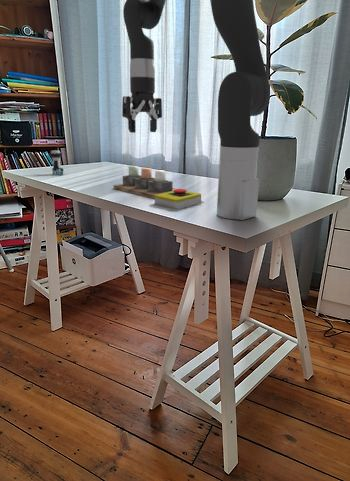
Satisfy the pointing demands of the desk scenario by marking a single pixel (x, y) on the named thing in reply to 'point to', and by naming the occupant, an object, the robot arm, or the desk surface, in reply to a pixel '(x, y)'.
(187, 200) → the emergency button
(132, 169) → the sage key
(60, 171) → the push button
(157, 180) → the ivory key
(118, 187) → the brown wooden flat board
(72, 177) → the desk surface
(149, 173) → the peach small block
